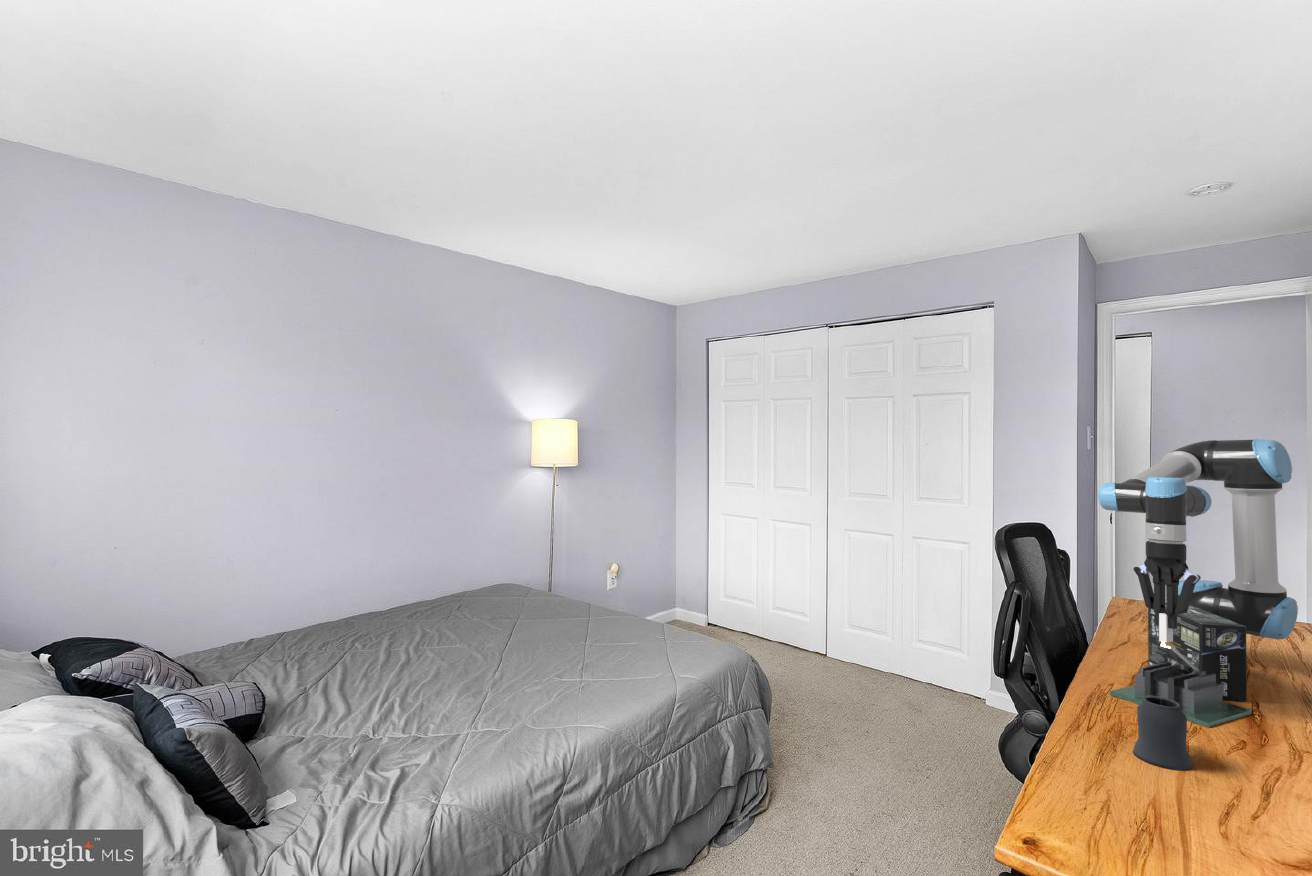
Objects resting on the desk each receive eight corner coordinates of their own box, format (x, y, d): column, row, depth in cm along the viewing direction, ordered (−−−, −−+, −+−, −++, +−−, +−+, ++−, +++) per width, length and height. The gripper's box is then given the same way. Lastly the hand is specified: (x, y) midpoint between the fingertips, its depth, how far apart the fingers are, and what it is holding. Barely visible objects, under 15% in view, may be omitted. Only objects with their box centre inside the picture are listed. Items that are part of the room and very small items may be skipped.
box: (1249, 703, 149) (1248, 624, 150) (1201, 699, 151) (1200, 622, 152) (1187, 671, 172) (1186, 602, 172) (1147, 668, 174) (1146, 600, 174)
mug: (1195, 775, 114) (1194, 714, 114) (1133, 760, 120) (1132, 702, 120) (1189, 751, 124) (1188, 695, 124) (1132, 738, 129) (1131, 684, 129)
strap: (1189, 673, 153) (1191, 667, 153) (1203, 677, 150) (1205, 671, 150) (1158, 645, 147) (1160, 640, 148) (1172, 649, 145) (1174, 643, 145)
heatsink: (1152, 684, 161) (1152, 653, 161) (1251, 714, 142) (1250, 679, 143) (1110, 694, 153) (1109, 662, 154) (1208, 727, 135) (1208, 690, 135)
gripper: (1126, 538, 152) (1126, 635, 151) (1189, 545, 140) (1190, 650, 139) (1144, 537, 155) (1144, 632, 154) (1207, 544, 143) (1208, 647, 142)
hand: (1166, 640), depth 146 cm, fingers closed
